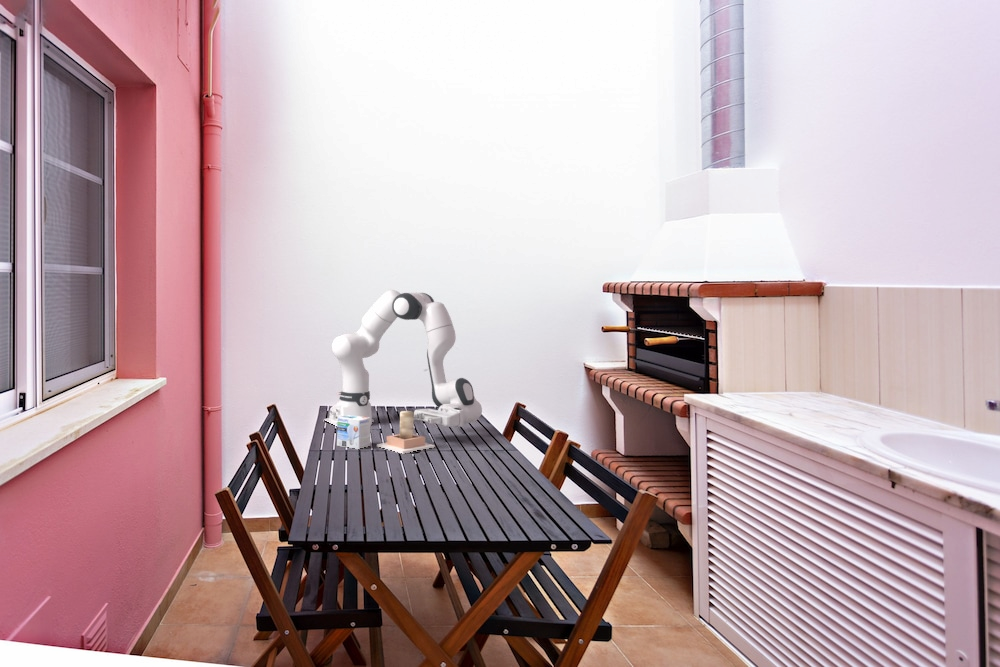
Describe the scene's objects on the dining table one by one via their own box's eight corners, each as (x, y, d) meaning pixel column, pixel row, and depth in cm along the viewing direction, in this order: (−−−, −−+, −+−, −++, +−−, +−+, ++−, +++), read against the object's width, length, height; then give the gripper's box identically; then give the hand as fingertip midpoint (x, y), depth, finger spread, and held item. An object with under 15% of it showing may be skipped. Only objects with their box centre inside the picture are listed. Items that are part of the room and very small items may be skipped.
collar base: (376, 446, 260) (376, 436, 260) (408, 441, 271) (408, 430, 271) (402, 454, 250) (403, 442, 250) (434, 447, 261) (434, 437, 261)
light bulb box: (336, 446, 260) (336, 417, 260) (348, 443, 266) (348, 414, 266) (359, 449, 255) (359, 420, 255) (371, 446, 261) (371, 417, 261)
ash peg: (396, 444, 261) (397, 411, 260) (406, 442, 264) (407, 410, 264) (405, 446, 257) (406, 413, 257) (415, 444, 261) (416, 412, 260)
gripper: (430, 403, 282) (403, 407, 272) (466, 410, 268) (439, 414, 258) (430, 419, 283) (402, 423, 273) (465, 427, 269) (438, 431, 259)
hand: (420, 419), depth 265 cm, fingers open, 8 cm apart
